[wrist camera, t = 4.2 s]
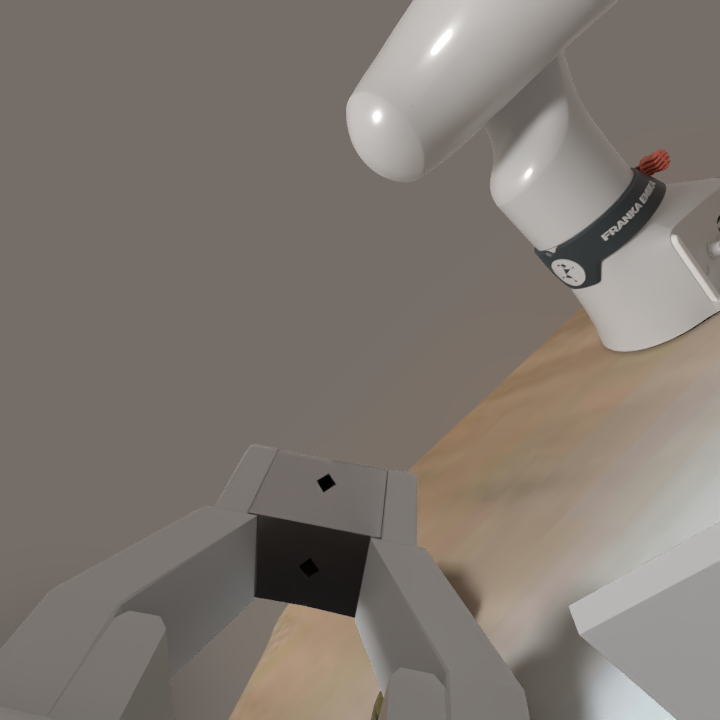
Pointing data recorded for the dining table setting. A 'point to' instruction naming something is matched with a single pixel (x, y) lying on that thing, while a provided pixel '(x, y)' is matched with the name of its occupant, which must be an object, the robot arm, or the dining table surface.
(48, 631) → the robot arm
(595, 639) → the side door
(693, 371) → the dining table surface
